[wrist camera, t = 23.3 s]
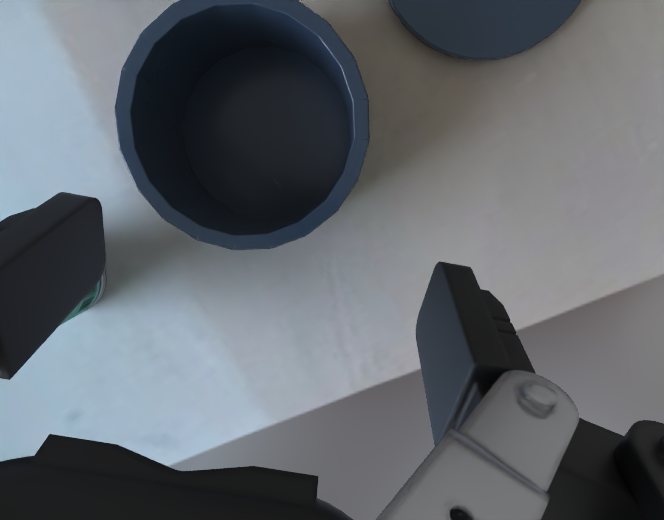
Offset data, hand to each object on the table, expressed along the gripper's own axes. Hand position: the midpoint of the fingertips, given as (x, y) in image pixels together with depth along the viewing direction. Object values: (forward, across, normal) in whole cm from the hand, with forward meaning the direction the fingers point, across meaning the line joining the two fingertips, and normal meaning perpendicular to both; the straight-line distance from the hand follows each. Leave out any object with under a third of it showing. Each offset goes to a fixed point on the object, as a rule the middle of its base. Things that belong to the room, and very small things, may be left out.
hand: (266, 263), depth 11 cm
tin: (+21, +3, +3) cm, 22 cm away
